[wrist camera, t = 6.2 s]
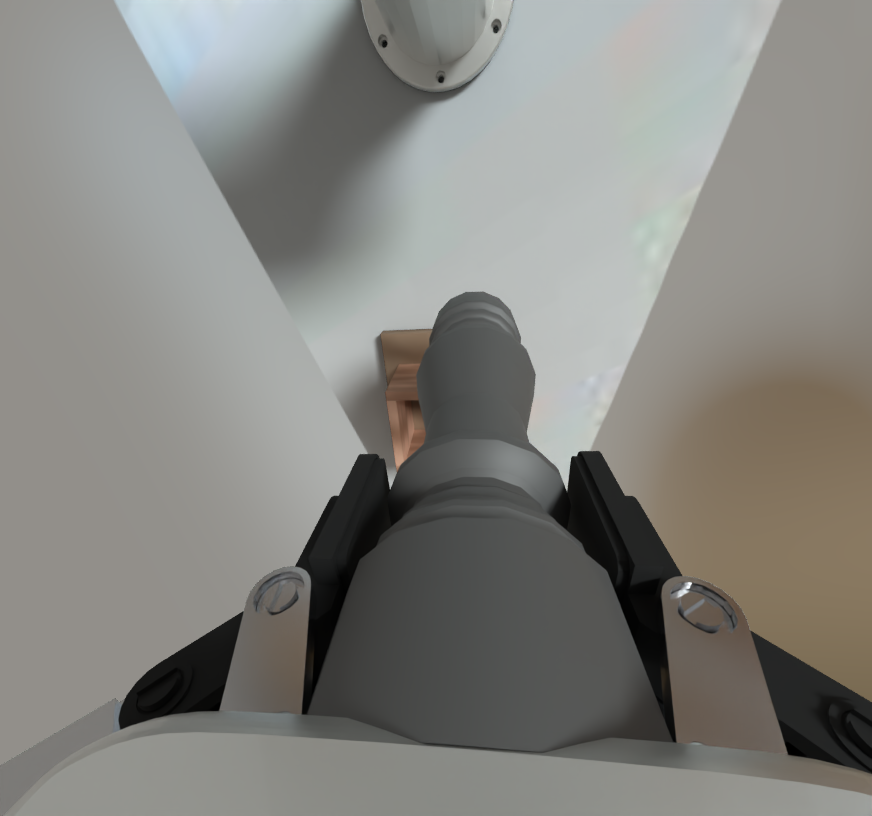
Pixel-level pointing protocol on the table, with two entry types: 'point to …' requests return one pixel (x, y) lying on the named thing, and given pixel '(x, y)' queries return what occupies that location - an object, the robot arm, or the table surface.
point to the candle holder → (483, 576)
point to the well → (404, 388)
